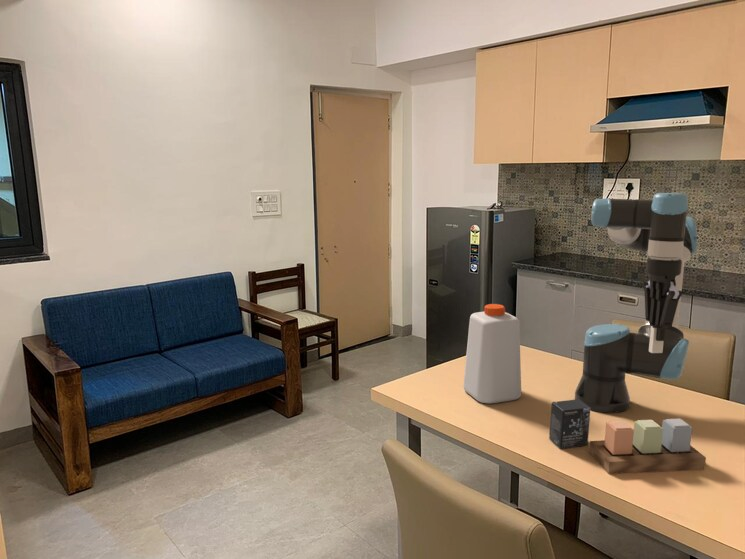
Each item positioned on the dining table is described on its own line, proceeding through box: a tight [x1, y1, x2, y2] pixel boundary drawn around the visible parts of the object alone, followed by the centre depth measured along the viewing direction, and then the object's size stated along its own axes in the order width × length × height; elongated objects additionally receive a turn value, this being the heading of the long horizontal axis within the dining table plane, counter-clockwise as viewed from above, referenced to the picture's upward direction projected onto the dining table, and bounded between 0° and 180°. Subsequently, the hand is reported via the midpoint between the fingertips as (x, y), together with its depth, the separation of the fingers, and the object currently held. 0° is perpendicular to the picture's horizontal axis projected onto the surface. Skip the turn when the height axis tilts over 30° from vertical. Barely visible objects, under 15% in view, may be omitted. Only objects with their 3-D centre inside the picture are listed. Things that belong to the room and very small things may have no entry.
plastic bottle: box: [462, 303, 522, 405], centre depth 175 cm, size 15×15×28 cm
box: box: [548, 398, 591, 450], centre depth 145 cm, size 8×6×11 cm
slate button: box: [661, 418, 693, 452], centre depth 137 cm, size 4×4×6 cm
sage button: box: [633, 419, 663, 453], centre depth 136 cm, size 4×4×6 cm
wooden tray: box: [589, 439, 707, 475], centre depth 137 cm, size 23×10×3 cm, turn 94°
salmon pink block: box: [604, 420, 634, 455], centre depth 136 cm, size 4×4×6 cm
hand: (655, 352), depth 142 cm, fingers closed
